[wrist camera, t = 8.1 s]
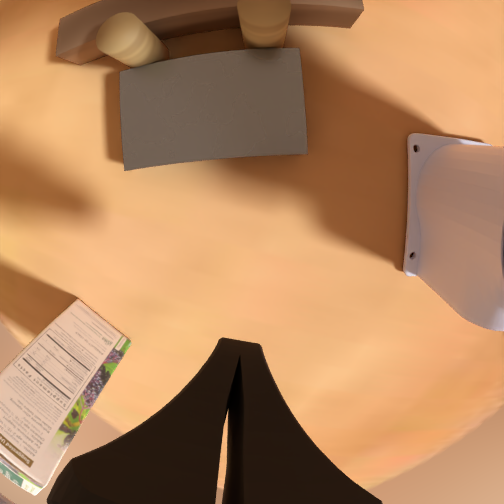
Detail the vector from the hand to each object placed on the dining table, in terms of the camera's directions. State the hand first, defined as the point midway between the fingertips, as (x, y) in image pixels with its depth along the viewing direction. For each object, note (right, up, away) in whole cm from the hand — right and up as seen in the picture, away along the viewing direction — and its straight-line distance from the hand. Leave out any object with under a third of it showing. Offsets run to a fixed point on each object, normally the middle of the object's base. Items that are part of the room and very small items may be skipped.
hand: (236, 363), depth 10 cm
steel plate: (-2, +12, +7) cm, 14 cm away
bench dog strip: (-2, +17, +4) cm, 18 cm away
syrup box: (-13, -3, +12) cm, 18 cm away
